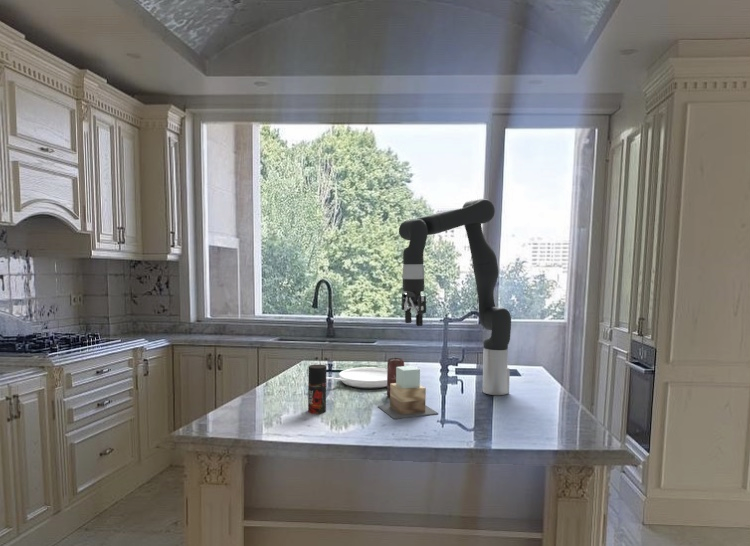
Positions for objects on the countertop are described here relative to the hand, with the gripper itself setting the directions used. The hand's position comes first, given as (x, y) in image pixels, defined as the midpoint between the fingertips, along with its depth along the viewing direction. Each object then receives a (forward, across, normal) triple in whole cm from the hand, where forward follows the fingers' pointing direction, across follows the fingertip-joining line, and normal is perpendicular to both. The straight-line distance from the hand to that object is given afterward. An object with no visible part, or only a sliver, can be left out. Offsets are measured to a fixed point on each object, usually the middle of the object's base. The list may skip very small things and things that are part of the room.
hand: (413, 324), depth 165 cm
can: (+29, +14, +1) cm, 32 cm away
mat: (+29, -3, +4) cm, 29 cm away
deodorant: (+28, +6, +33) cm, 44 cm away
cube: (+20, -3, +4) cm, 21 cm away
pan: (+29, +35, +9) cm, 46 cm away
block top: (+24, -3, +4) cm, 25 cm away
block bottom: (+28, -3, +4) cm, 29 cm away
